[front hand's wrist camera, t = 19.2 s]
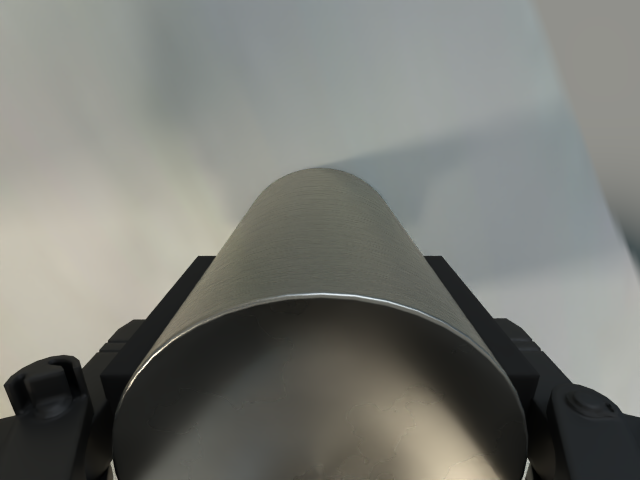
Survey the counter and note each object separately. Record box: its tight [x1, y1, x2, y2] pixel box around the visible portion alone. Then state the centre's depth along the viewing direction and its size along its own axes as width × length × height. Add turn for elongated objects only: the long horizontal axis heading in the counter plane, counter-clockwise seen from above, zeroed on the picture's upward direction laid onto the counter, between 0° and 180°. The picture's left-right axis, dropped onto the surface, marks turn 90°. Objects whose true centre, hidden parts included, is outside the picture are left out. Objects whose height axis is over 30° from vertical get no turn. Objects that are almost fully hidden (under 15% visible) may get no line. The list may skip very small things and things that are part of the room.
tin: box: [112, 168, 528, 480], centre depth 13 cm, size 8×8×12 cm
